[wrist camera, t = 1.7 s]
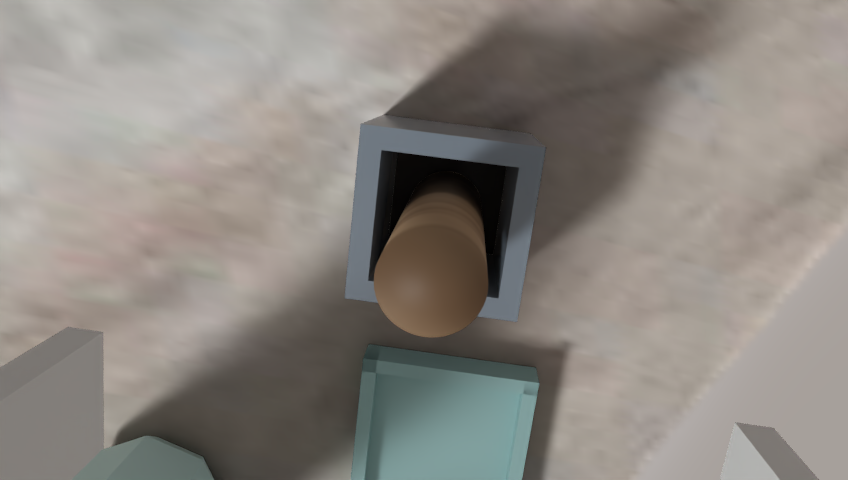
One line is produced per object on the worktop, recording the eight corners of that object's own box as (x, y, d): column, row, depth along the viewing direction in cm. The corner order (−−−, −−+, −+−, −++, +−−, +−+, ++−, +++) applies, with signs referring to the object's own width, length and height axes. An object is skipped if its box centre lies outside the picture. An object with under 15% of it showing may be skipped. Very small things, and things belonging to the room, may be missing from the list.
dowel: (414, 166, 35) (379, 220, 22) (486, 175, 35) (496, 236, 22) (406, 236, 36) (368, 329, 23) (476, 245, 36) (479, 344, 23)
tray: (368, 344, 38) (363, 358, 36) (535, 367, 38) (539, 383, 36) (349, 528, 41) (343, 550, 39) (503, 552, 41) (504, 575, 39)
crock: (383, 114, 35) (360, 123, 28) (530, 133, 34) (546, 147, 27) (369, 255, 37) (344, 298, 30) (507, 273, 36) (516, 322, 29)
